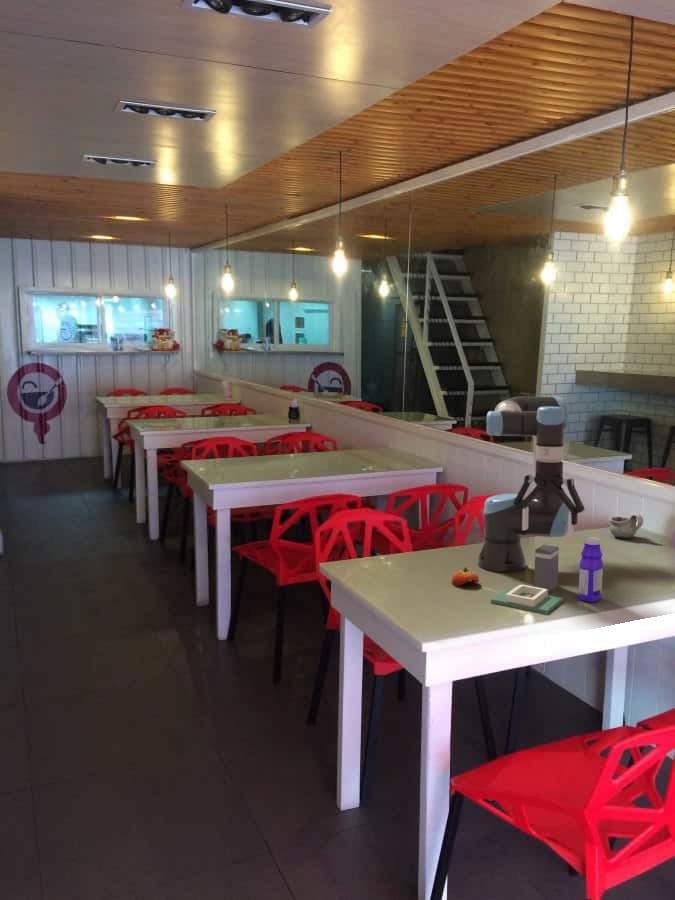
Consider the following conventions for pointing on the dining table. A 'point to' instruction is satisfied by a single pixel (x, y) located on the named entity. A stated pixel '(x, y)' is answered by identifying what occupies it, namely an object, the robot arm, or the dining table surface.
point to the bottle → (591, 571)
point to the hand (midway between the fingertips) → (547, 532)
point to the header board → (527, 599)
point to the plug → (546, 567)
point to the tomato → (464, 577)
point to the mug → (625, 525)
